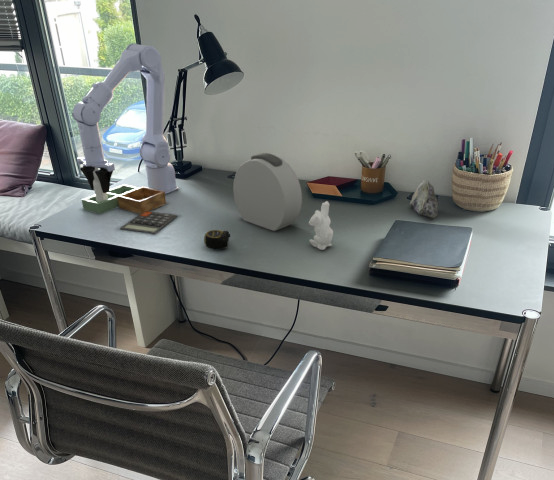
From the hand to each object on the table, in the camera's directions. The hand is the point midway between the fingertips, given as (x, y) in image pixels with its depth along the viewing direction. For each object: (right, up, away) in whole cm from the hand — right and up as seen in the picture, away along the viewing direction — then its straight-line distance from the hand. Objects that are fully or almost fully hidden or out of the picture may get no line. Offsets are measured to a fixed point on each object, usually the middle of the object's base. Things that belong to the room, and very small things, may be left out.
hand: (100, 190), depth 178 cm
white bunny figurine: (+68, -23, -22) cm, 76 cm away
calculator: (+17, -13, -7) cm, 23 cm away
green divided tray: (+2, -2, +6) cm, 7 cm away
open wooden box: (+12, -4, +4) cm, 14 cm away
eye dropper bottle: (0, -4, +3) cm, 5 cm away
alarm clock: (+53, -12, -7) cm, 55 cm away
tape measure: (+40, -23, -22) cm, 51 cm away
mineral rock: (+102, -8, -2) cm, 102 cm away
